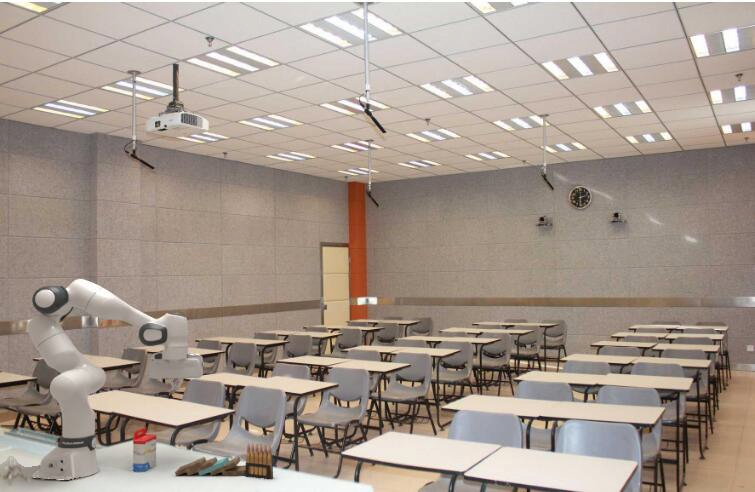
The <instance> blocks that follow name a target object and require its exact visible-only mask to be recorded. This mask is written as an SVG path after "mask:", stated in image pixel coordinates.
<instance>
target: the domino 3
mask: <svg viewBox="0 0 755 492" xmlns="http://www.w3.org/2000/svg"><path fill="white" fill-rule="evenodd" d="M229 461H230V459H229V457H228V456H226V457H224V458H221V459H219V460H218V461H217V462H216V463H215V464H214V465H213V466H211V467H209V468H207V469H204V470H202V471H199V472H197V473H198V475H199V476H200V477H201V476H203V475H206V474H208V473H209V474H210V472H211V471H213V470H216V469H218V468H221V467H223V466H225V465H226V464H227V463H228V462H229Z"/></svg>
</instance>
